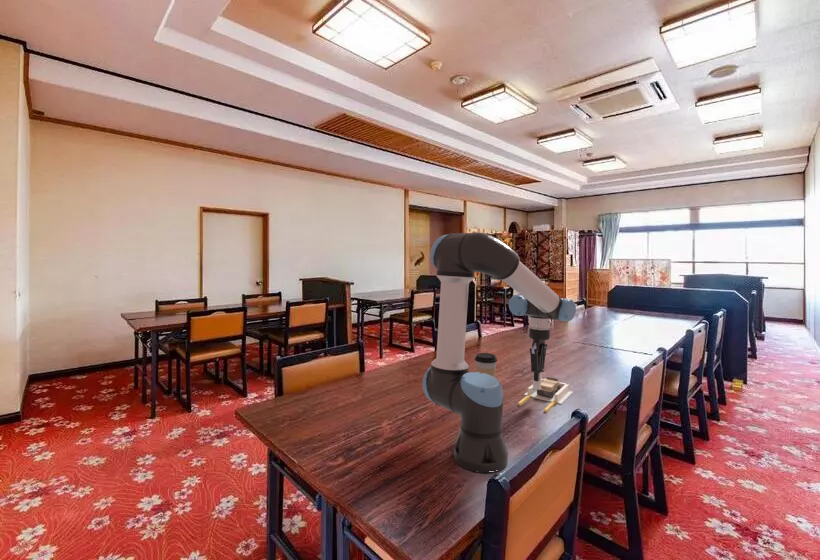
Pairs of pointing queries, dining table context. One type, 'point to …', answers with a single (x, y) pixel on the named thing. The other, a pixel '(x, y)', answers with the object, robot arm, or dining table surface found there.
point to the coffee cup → (486, 363)
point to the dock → (558, 397)
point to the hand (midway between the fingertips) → (536, 388)
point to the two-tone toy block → (549, 387)
